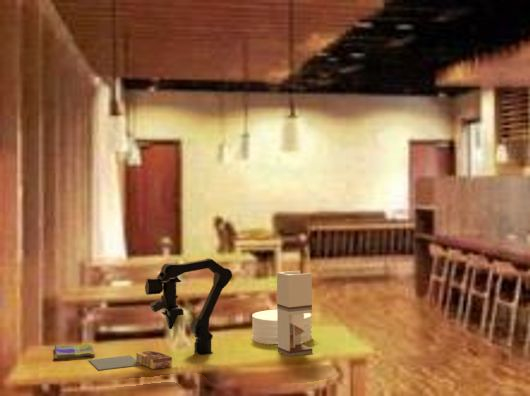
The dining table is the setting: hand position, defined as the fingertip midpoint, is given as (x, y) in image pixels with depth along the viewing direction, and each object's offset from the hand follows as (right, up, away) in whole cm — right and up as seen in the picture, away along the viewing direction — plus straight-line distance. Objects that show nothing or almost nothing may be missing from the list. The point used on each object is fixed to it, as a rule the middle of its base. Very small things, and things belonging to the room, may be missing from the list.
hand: (170, 329), depth 341 cm
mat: (-22, -13, -10) cm, 27 cm away
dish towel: (-44, -13, +9) cm, 46 cm away
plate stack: (+49, -11, +34) cm, 61 cm away
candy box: (-10, -10, -7) cm, 16 cm away
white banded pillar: (+54, -11, +6) cm, 55 cm away
